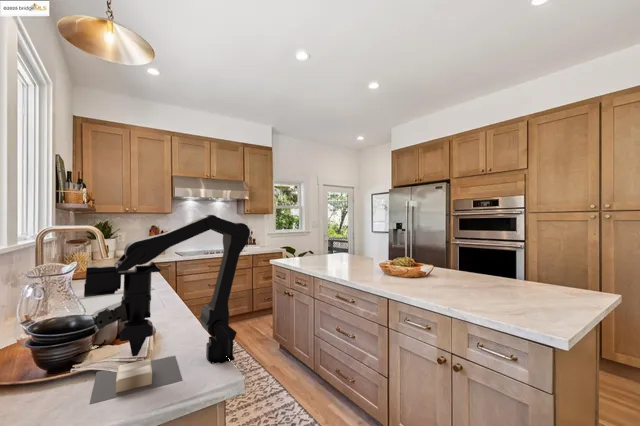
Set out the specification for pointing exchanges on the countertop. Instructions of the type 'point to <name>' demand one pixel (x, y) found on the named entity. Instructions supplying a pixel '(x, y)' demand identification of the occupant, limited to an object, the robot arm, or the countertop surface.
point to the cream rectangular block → (133, 375)
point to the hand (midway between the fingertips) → (135, 355)
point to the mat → (162, 375)
